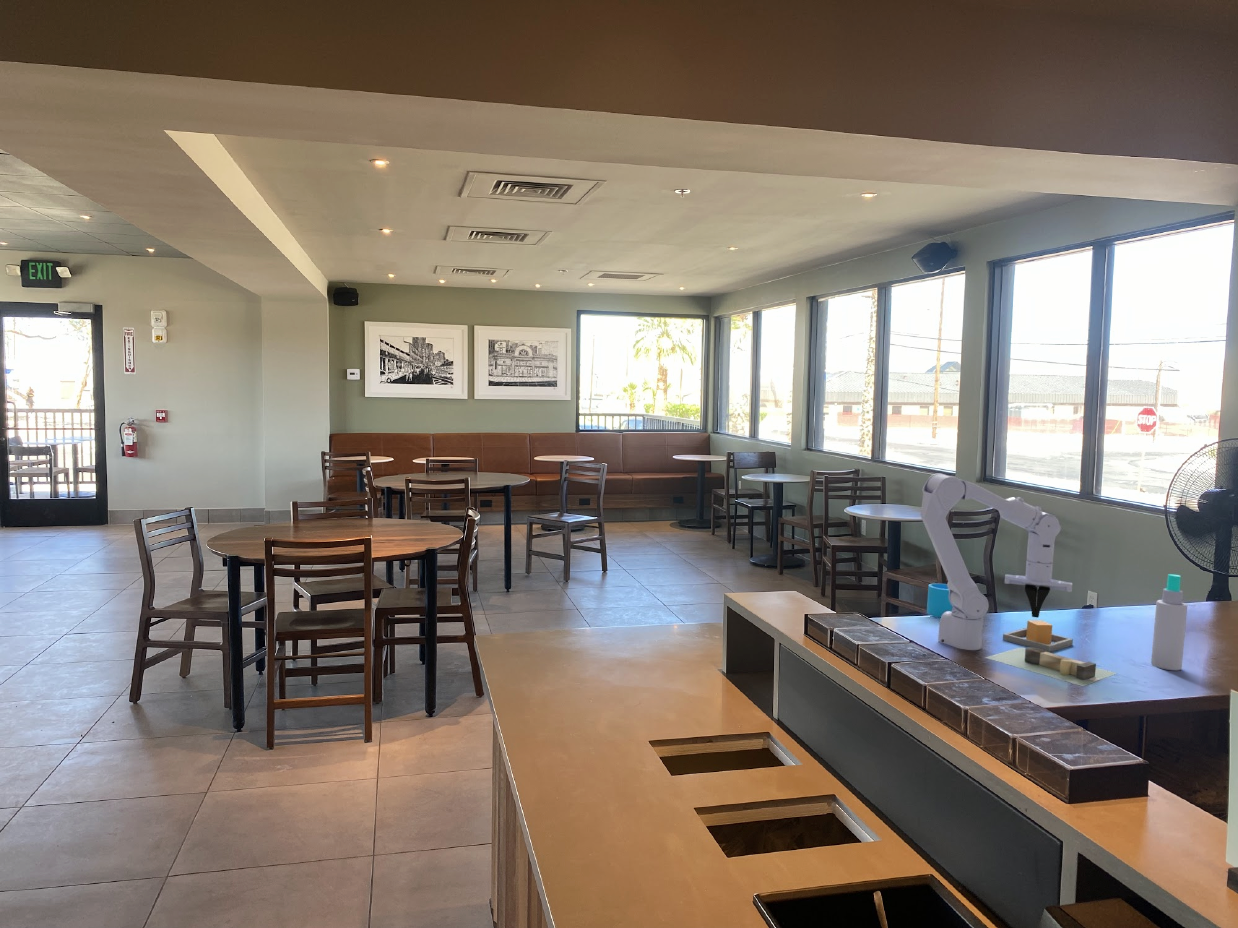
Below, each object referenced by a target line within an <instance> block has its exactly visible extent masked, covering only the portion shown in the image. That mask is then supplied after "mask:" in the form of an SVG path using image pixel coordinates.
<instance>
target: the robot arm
mask: <svg viewBox="0 0 1238 928" xmlns="http://www.w3.org/2000/svg"><path fill="white" fill-rule="evenodd" d="M921 491H922V502H921V510H920V518H921V520H922V523H923V525H924V527H925V529H926V532H927V534H928V537H929V539H930V541H931V543H932V546H933V549H934V550H935V553H936V555H937V557H938V561H939V562H940V565H941V566H942V569H943V572H944V574H945V577H946V579H947V587H948V589H949V601H950V603H951V605H952V606H953V609H952V612H951V611H946V612H944V613H943V614H942V616H941V618H939V622H938V635H937V636H938V639H937V642H938V643H940V644H945V645H949V646H950V647H951V646H952V647H953V648H957V649H961V650H966V651H967V650H968V651H977V650H981V649H982V644H983V643H982V640H983V628H984V627H983V625H984V616H985V615H986V614H987V613H988V610H989V607H990V605H989V600H988V599H987V597H986V596H985V595H984V594H983V593H982V592H981V591H980V590H979V587H978V585H977V584H976V583H975V581H974V580H973V579H972V577H971V576H970V573H969V570H968V568H967V566H966V563H965V561H964V559H963V557H962V554H961V552H960V550H959V547H958V544H957V542H956V540H955V537H954V536H953V532H952V531H951V529H950V526H949V523H948V521H947V516H948V514H949V512H950V510H951V509H952V508H953V507H954V506H955V505H957V503H959V502H960V501H961V500H963V501H968V500H971V499H972V500H974V501H976V502H978V503H980V504H983V505H985V506H988V507H990V508H992V509H994V510H997V511H998V513H999V516H1000V517H1001V519H1003V520H1005V521H1007V522H1009V523H1011V524H1013V525H1014V526H1015V525H1016V526H1018V527H1019V528H1022V529H1024V530H1026V531H1027V532H1028V536H1027V537H1028V539H1027V549H1026V550H1027V551H1026V561H1025V563H1026V564H1025V575H1015V574H1014V575H1013V574H1005V575H1004V584H1006V585H1007V584H1008V585H1009V584H1012V585H1020V586H1024V592H1025V594H1026V596H1027V599H1028V602H1029V605H1030V609H1031V610H1030V611H1031V617H1032V618H1036V619H1037V618H1039V617H1040V613H1041V609H1042V606H1043V604H1044V602H1045V600H1046V598H1047V596H1048V594H1049V593H1050V591H1051V590H1056V591H1064V592H1067V593H1072V592H1073V582H1068V581H1062V580H1056V579H1052V578H1053V567H1054V566H1053V565H1054V553H1055V542H1056V541H1055V540H1056V537H1057V536H1058V534H1060V532H1061V529H1062V526H1061V525H1060V521H1059V519H1058V517H1056V515H1054V514H1051V513H1048V512H1044V511H1043V510H1042V509H1043V508H1042V507H1040V506H1034V505H1031V504H1028V503H1027V502H1025V499H1024V498H1022V497H1020V496H1017V497H1014V496H1012V497H1008V498H1003V497H1002V496H1000V495H998V494H995V493H994V492H991V491H990V490H988V489H986V488H984V487H982V486H981V485H978V484H976V483H974V482H972V481H971V482H970V481H967V480H964V479H960V478H958V477H956V476H949V475H946V474H944V473H940V472H939V473H938V472H937V473H933V474H932V475H930V476H929V477H928V478H927V480H926V481H925V483H924V485H923V487H922V489H921Z"/></svg>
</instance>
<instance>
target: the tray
mask: <svg viewBox="0 0 1238 928" xmlns="http://www.w3.org/2000/svg"><path fill="white" fill-rule="evenodd" d="M1026 634H1027V627H1025V628H1021V629H1016V630H1012V631H1009V632H1005V633H1003V634H1002V641H1005V642H1009V643H1012V644H1017V645H1019V646H1024V647H1026V648H1028V647H1033V648H1039V649H1042V650H1044V651H1045V652H1049V653H1052V652H1054V651H1057V650H1062V649H1064V648H1065V649H1066V648H1068V647H1071V646H1073V642H1074V638H1070V637H1066V636H1062V635H1058V634H1054V633H1052V637H1051V644H1049V645H1047V644H1043V643H1039V642H1035V641H1032V640H1028V639H1026ZM1052 642H1053V643H1052Z"/></svg>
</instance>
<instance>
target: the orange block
mask: <svg viewBox="0 0 1238 928" xmlns="http://www.w3.org/2000/svg"><path fill="white" fill-rule="evenodd" d="M1026 625H1027V626H1026V628H1027V634H1026V637H1025V639H1028V640H1032V641H1035V642H1039V643H1043V644H1047V645H1049V644H1052V641H1051V637H1052V634H1053V624H1051V623H1048V622H1047V621H1044V620H1027V622H1026Z"/></svg>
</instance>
